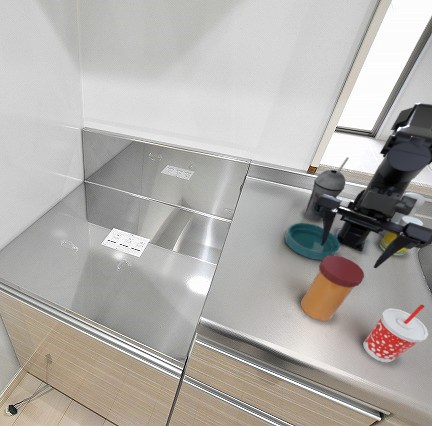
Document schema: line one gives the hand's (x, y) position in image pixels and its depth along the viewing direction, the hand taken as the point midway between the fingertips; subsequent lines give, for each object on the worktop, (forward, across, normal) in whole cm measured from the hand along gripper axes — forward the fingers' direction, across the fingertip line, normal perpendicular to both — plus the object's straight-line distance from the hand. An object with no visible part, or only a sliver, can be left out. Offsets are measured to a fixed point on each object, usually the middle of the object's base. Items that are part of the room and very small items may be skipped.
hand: (347, 256), depth 60 cm
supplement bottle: (-11, +9, +28) cm, 32 cm away
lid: (+4, 0, -5) cm, 6 cm away
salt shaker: (-16, +7, +33) cm, 37 cm away
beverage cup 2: (+14, +11, +3) cm, 18 cm away
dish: (-2, -7, +19) cm, 20 cm away
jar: (+12, 0, +4) cm, 13 cm away
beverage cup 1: (-13, -10, +29) cm, 34 cm away
